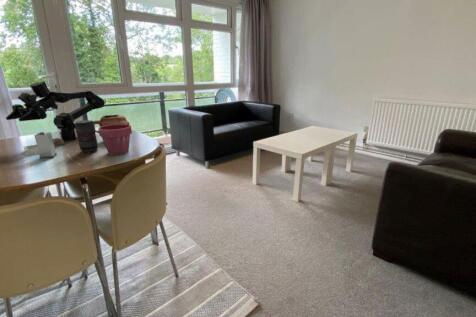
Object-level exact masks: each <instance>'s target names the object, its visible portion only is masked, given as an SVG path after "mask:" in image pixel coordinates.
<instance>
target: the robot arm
mask: <svg viewBox="0 0 476 317" xmlns="http://www.w3.org/2000/svg"><path fill="white" fill-rule="evenodd" d="M29 87H30V88H31V90H32V92H33V94H30V93H28V92H22V93H20V95H18V97H17V99H18V100H20V101H21V102H22V103H24V104H18V103H17V104H12V105H11V107H12V108H11V109H12V111H11V112H10V113H9V114H8V115H7V116H6V117H5V118H6V120H7V121H11V120H17V119H18V120H19V122H27V121H38V120H44V119H46V118H48V114H47V110H49V109H52V110H58V109H59V104H63V103H68V102H69V101H72V100H77V99H85V101H86V102H87V103H86V104H84V105H82V106H80V107H78V108H76V109H74V110H73V111H70V112H60V113H59V114H56V115H55V116H54V118H53V125H54V126H55V127H57V130H60V131H59V135H60V139H63V141H64V142H69V141H75V140H78V137H76V136H77V134H76V128H75V120H77V119H79V118H81V117H83V116H85V115H86V114H87V113H89V112H92V111H93V110H99V109H101V108H103V107H104V106H105V100H104V99H103V98H102V97H101V96H99V95H97V94H96V93H94V92H93V91H91V90H80V91H78V90H77V91H71V92H62V91H61V92H60V91H50V89H49V88H48V86H47V83H46V82H45V81H40V82H34V83H31V84H29ZM37 98H39V99H38V100H37ZM57 103H58V104H57Z"/></svg>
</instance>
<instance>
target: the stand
mask: <svg viewBox="0 0 476 317" xmlns="http://www.w3.org/2000/svg"><path fill="white" fill-rule="evenodd" d="M23 148H24V149H23V150H24V153H25V154H26V156H34V155H39V151H38V147H37V144H31V145H24V146H23Z"/></svg>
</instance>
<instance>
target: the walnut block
mask: <svg viewBox="0 0 476 317" xmlns="http://www.w3.org/2000/svg"><path fill="white" fill-rule="evenodd" d="M52 139H53V143H54V147H55V148H58V147H63V146H65V143H64V142H65V141H63V139H61V137H59V138H58V137H56V138H52Z"/></svg>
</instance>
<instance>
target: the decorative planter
mask: <svg viewBox="0 0 476 317" xmlns="http://www.w3.org/2000/svg"><path fill="white" fill-rule="evenodd" d="M92 121H93V122H94V125H99V127H101V126H105V125H113V124H127V125H130V121H128V120H127V118H126V117H125V116H124V115H120V114H110V115H109V114H108V115H107V114H105V115H102V116H101V117H100V119H99V120H92ZM95 133H96V134H99V131H98V130H96V129H95Z"/></svg>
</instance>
